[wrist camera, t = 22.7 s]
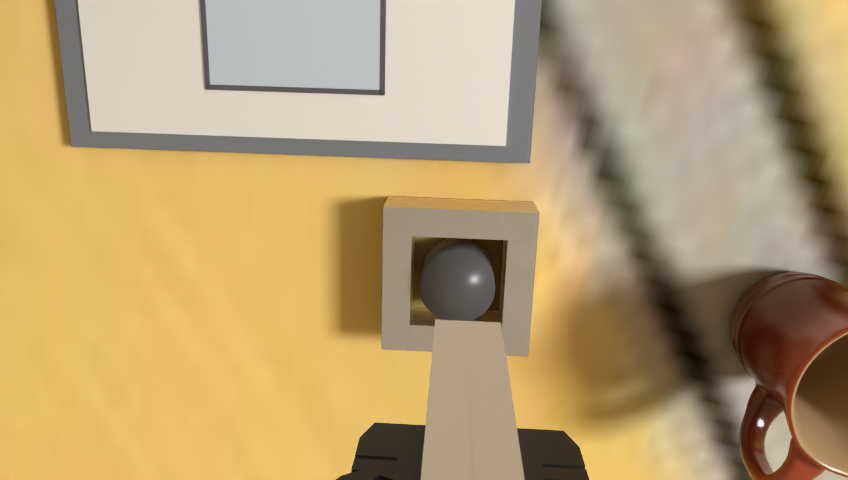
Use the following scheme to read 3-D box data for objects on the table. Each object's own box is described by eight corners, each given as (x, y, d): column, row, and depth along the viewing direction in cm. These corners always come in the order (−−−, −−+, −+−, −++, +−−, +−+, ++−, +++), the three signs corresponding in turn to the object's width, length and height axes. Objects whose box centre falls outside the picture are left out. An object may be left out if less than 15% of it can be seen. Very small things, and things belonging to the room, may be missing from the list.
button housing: (386, 329, 44) (381, 349, 41) (388, 196, 41) (383, 206, 39) (523, 336, 43) (528, 356, 41) (533, 201, 41) (539, 212, 38)
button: (421, 301, 43) (418, 321, 39) (423, 235, 41) (421, 250, 38) (490, 304, 42) (493, 324, 39) (494, 238, 41) (497, 253, 38)
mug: (771, 229, 41) (870, 285, 31) (884, 299, 42) (1016, 375, 32) (654, 379, 44) (711, 474, 34) (762, 442, 45) (848, 552, 35)
